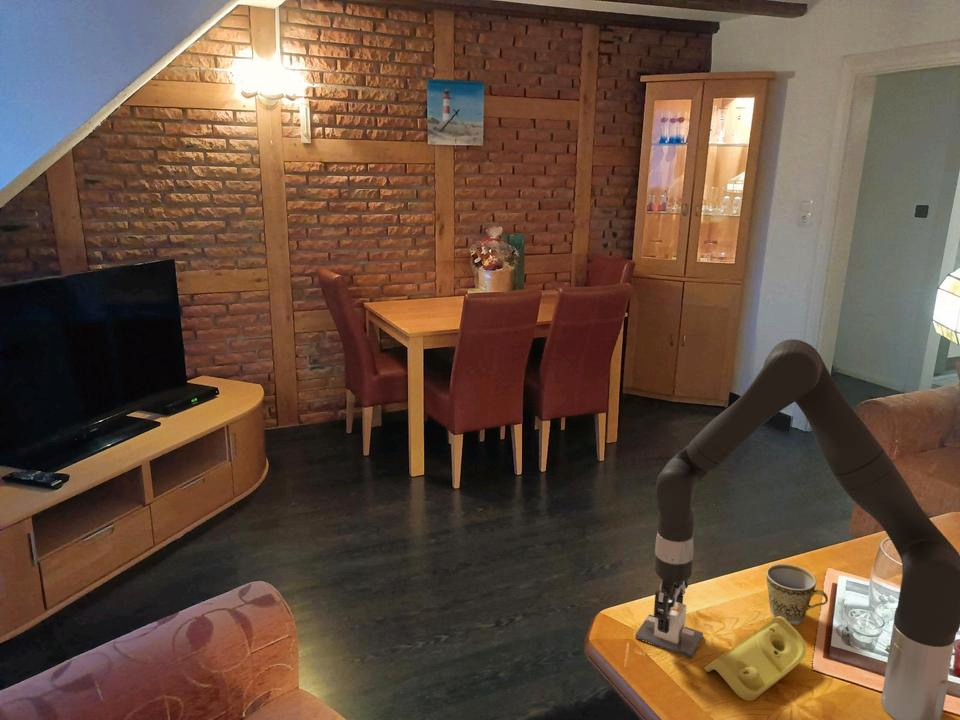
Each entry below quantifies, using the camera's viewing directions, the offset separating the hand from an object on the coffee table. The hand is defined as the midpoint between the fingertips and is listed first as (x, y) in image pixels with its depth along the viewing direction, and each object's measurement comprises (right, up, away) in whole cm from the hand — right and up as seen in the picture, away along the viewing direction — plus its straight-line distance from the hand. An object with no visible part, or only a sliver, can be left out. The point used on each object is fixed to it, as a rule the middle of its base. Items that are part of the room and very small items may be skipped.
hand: (670, 620), depth 147 cm
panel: (0, -4, +1) cm, 4 cm away
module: (0, -3, +1) cm, 3 cm away
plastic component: (+15, -7, -9) cm, 19 cm away
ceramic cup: (+29, -2, +6) cm, 30 cm away
